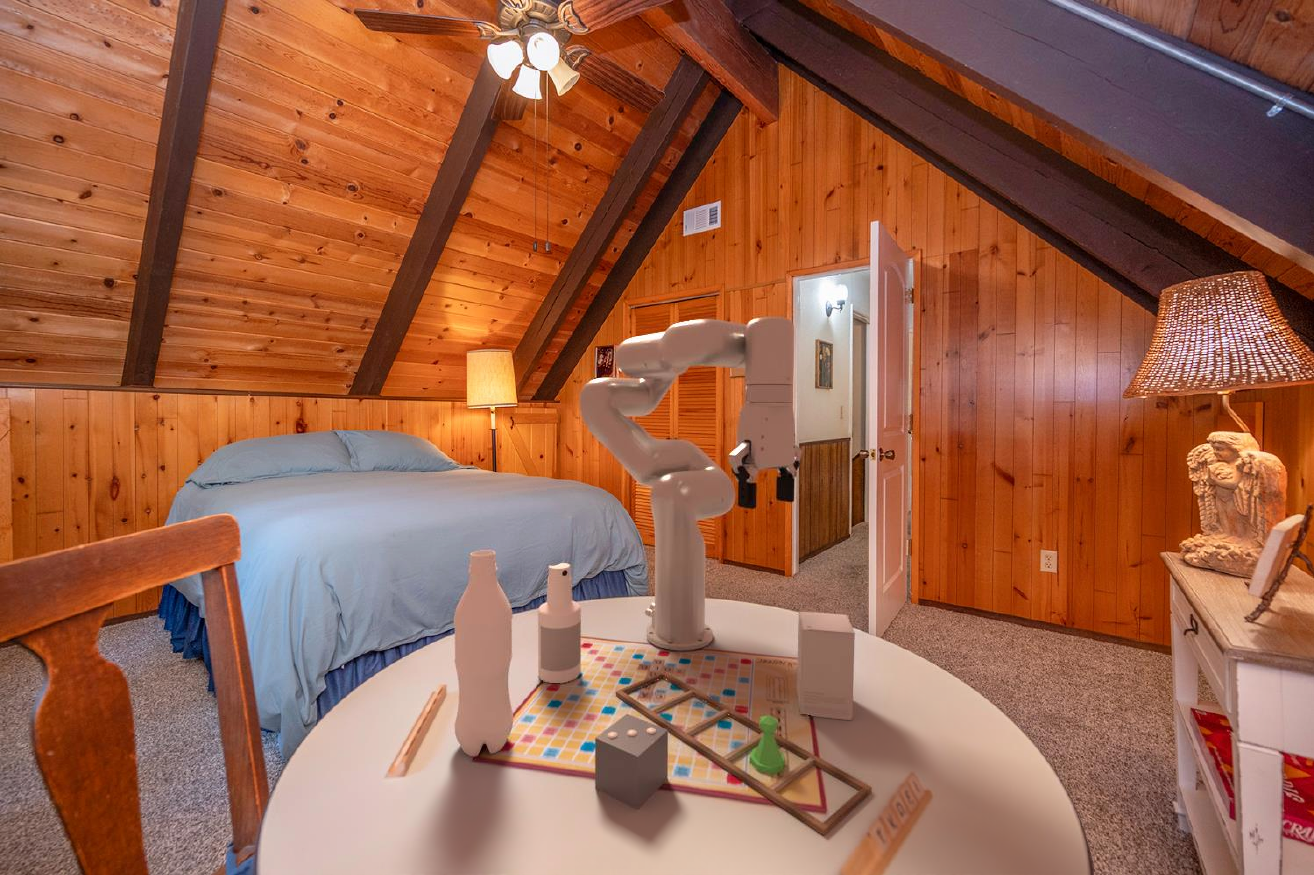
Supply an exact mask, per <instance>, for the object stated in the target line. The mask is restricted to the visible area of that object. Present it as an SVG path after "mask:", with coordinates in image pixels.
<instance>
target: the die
mask: <svg viewBox="0 0 1314 875" xmlns="http://www.w3.org/2000/svg"><path fill="white" fill-rule="evenodd" d="M594 740H595V741H594V742H595V743H594V746H595V748H594V750H595V751H594V762H595V763H594V767H595V768H594V775H595V776H594V778H595V780H594V789H596V790H598V791H600V792H602V793H604V794H606V795H608V796H610V797H611V798H614V799H615V800H618V801H619V802H622V803H623V804H625V805H627V806H629V807H631V808H633V809H635V810H637V811H638V810H639V809H640V808H641V807H642V806H643V805H644V804H645V803H646V802H647V801H648V800H649V799H650V798H651V797H652V796H653V794H655V792H656V791H658V789H659V788H660V787H661V786H662V785H664V783H666V781H667V780H668V779H669V778H668V777H669V776H668V771H669V770H668V765H669V763H668V762H669V760H668V758H669V755H668V754H669V753H668V752H669V746H668V745H669V731H668V730H667V729H665V728H663V727H662V726H660V725H658V724H655V723H652V722H649V721H646V720H644V719H642V718H639V717H636V716H634V715H631V714H629V713H626V714H625V715H623V716H622V717H620V718H618V720H617V721H616V722H614V723H613V724H611V725H610V726H609V727H607V729H605V730H604V731H603V732H601V733H600V734H598V735H597V736H596V737H595V739H594Z"/></svg>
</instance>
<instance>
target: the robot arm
mask: <svg viewBox="0 0 1314 875" xmlns="http://www.w3.org/2000/svg"><path fill="white" fill-rule="evenodd" d="M794 351H795V326H794V323H793V321H791V319H789V318H786V317H782V316H764V317H756V318H754V319H751V320H750V321H748V323H747V324H745V323H739V322H738V323H737V322H733V321H727V320H722V319H714V318H713V319H712V318H702V319H701V318H700V319H699V318H698V319H694V320H689V321H683V322H679V323H674V324H672V325H671V326H669V327H668V328H667V329H666V330H665V331H661V332H657V333H650V334H645V335H639V336H638V335H637V336H634V337H630V338H628V339H625V340H624V341H622V342H621V343H620V344H619V345H618V347H617V348H616V351H615V353H614V362H615V365H616V367H617V369H618V371H619V372H620V373H622V375H625V376H627V378H625V377H608V376H607V377H599V378H595V379H591V380H590V381H588V382H586V383H585V384H584V385H583V387H582V389H581V390H580V393H579V402H578V403H579V408H580V409H579V410H580V415H581V418H582V420H583V423H584V424H585V427H586V429H587V430H588V431H589V433H590V434H591V435H592V436H593V437H594V439H595V440H597V441H598V442H599V443H600V444H601V445H602V446H604V447H605V448H606V449H607V450H608V451H609V453H611V454H612V456H614V458H615V459H616V460H617V461H618V462H619V463H620V465H621V466H622V467H623V468H624V469H625V470H626V472H627V473H628V474H629V475H630V476H631V477H632V478H633V480H635V481H636V482H637V483H638V484H639V485H640V486H642V487H649V488H650V487H651V488H650V493H649V502H650V509H651V513H652V519H653V527H654V550H655V552H654V556H655V557H654V558H655V559H654V566H655V567H654V602H652V603H651V604H650V606H649V608H646V609H645V612H644V614H645V616H647V617H650V618H651V624H650V625H649V626H648V627H647V629H646V639H647V641H649V643H651V644H652V645H653V646H656V647H658V648H661V649H665V650H670V651H683V652H684V651H693V650H698V649H701V648H704V647H706V646H708V645H709V644H710V643H711V642H712V641H713V639H714V638H713V637H714V636H713V634H714V632H713V629H712V628H711V627H710V626H709V625H707V624H706V623H705V622H706V616H705V614H706V608H705V606H706V542H705V538H704V535H703V534H702V532H701V530H700V527H699V526H698V522H699V521H700V520H706V519H712V518H717V517H720V516H723V515H724V514H727V513H728V512H729V511H730V510H731V509H732V508H733V506H734V504H735V501H736V489H735V486H734V484H733V481H732V480H731V478H730V476H729V475H728V474H727V472H725V471H724V470H723V469H722V468H721V467H720V466H719V465H718V464H717V463H716V462H715V461H714V460H712V458H710V457H709V455H707V454H706V453H705V452H704V451H703V450H702V449H701V448H699V446H697V445H696V444H694V443H693V442H691V441H689V440H686V439H678V438H677V439H676V438H674V439H673V438H672V439H662V438H660V439H659V438H655V437H654V436H652V434H650V433H649V432H648V431H647V430H646V429H645V428H644V427H643V426H642V425H640V424H639V423H638V422H636V421H635V420H633V419H631V418H629V417H634V418H635V417H644V416H647V415H651V413H652V412H654V410H656V408H657V407H658V406H659V404H660V402H662V400H663V399H664V397H665V396H666V394H667V393H668V391H669V390H670V389H671V387H672V385H674V383H675V381H676V379H678V377H679V376H680V375H683V374H684V373H685V372H686V371H687V370H688V369H689V367H700V366H701V367H702V366H703V367H717V368H718V367H720V368H728V369H739V370H740V369H742V370H744V405H741V408H740V411H739V417H738V423H737V431H736V441H735V442H736V443H735V449H733V451H731V452H730V453H729V454H728V456H727V457H728V460H729V463H730V467H731V472H732V473H733V475H734V479H735V481H736V482H737V483H738V484H737V486H738V487H737V506H738V507H739V508H744V509H750V510H754V509H757V491H758V490H757V487H758V486H757V482H755V479H756V477H757V476H758V474H759V472H760V470H762V471H763V470H765V471H766V470H773V469H774V470H775V469H776V471H777V473H778V475H776V486H775V487H776V488H775V489H776V490H775V492H776V494H775V496H776V497H775V498H776V500H777V501H779V502H780V501H781V502H785V503H793V502H795V482H796V480H795V478H797V477H798V476H797V475H798V473H797V472H798V471H797V470H798V469H799V467H800V461H801V458H802V456H803V450H802V449H801V448H800V447H798V446H797V445H796V423H795V413H794V408H793V407H794V403H793V402H794V363H795V362H794V355H795V354H794V353H795V352H794ZM628 377H629V378H628ZM748 471H749V472H748ZM697 521H698V522H697Z"/></svg>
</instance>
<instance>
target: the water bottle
mask: <svg viewBox="0 0 1314 875" xmlns="http://www.w3.org/2000/svg"><path fill="white" fill-rule="evenodd" d="M469 558H470V564H469V569H468V575H470V576H469V581H468V584H467V587H466V588H465V590H464V593H463V594H462V596H461V598H460V599H459V602H458V604H457V606H456V609H455V612H454V617H453V626H454V665H455V668H456V673H457V674H456V675H457V681H458V706H457V713H456V717H455V721H454V733H455V737H456V740H457V741H458V744H459V746H460V747H461V749H462V751H463V752H464V753H465V754H466V755H467V756H470V757H479V754H480V752H481V749H482V747H483V745H486V748H487V749H488V751H489V753H490V754H496V753H497V752H499V751H501V750H502V749H503V747H504V746H505V744H506V742H507V741H508V739H509V736H510V734H511V731H512V728H513V725H514V711H513V708H512V704H511V698H510V691H509V690H510V689H509V673H510V672H509V671H510V666H511V661H512V658H513V649H512V648H513V646H512V644H513V643H512V642H513V641H512V640H513V636H512V635H513V634H512V632H513V630H512V629H513V628H512V627H513V626H512V625H513V624H512V623H513V620H512V619H513V610H512V606H511V603H510V601H509V599H508V598H507V595H506V594H505V592H504V590H503V589H502V587H501V586H500V584H499V581H498V578H497V572H498V571H499V569H498V567H497V562H496V551H494V550H491V549H481V550H476V551H472V552H471V553H470V557H469Z"/></svg>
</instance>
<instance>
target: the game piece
mask: <svg viewBox="0 0 1314 875" xmlns="http://www.w3.org/2000/svg"><path fill="white" fill-rule="evenodd" d="M758 724H759V727H760V728H761V729H762V730H763V731H764V733H763V735H762V737H761V740H760V742H759V744H758V745H757V747H756V748H755V747H753V748H752V751H751V753H750V755H749V763H750V764H751V766H753V768H754V769H755V770H756V771H758V772H761V773H763V774H767V775H773V774H777V773H781V772H783V770H784V767H785V764H786V757H785V756H784V754H783V753H781V750H780V749H779V747H778V744H777V743H776V741H775V738H774V735H773V733H772V732H774V733H776V732H777V730H778V729H777V728H778V724H779V722H778V720H777V719H776V718H775V717H773V715H763V716H762V715H761V716H760V720H759V723H758Z"/></svg>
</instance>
